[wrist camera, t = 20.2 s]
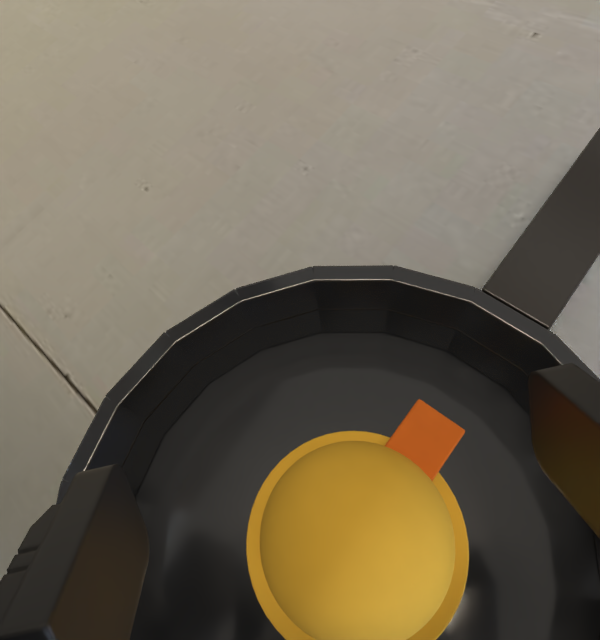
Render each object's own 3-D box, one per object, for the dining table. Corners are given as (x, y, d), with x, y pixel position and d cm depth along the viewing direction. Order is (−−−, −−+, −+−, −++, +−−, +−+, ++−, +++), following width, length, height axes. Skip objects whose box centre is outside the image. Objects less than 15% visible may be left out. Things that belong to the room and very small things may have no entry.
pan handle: (536, 345, 18) (549, 328, 17) (472, 307, 19) (481, 289, 18) (675, 135, 21) (696, 108, 20) (615, 110, 22) (632, 82, 21)
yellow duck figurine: (371, 669, 17) (394, 790, 8) (252, 561, 19) (158, 559, 9) (467, 518, 19) (579, 474, 9) (350, 430, 20) (349, 321, 11)
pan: (425, 1052, 14) (460, 1289, 9) (18, 590, 19) (-84, 598, 15) (700, 502, 19) (812, 483, 14) (310, 255, 24) (300, 184, 20)
